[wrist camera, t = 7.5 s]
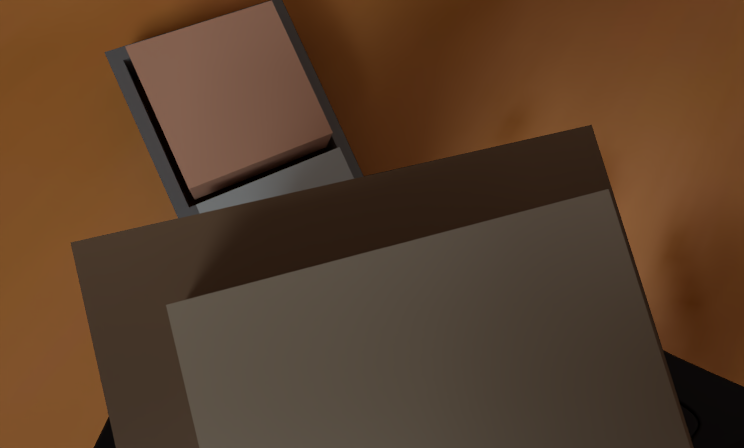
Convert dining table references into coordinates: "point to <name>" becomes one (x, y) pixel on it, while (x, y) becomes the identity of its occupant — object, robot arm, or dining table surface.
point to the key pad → (153, 136)
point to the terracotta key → (230, 97)
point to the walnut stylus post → (389, 314)
